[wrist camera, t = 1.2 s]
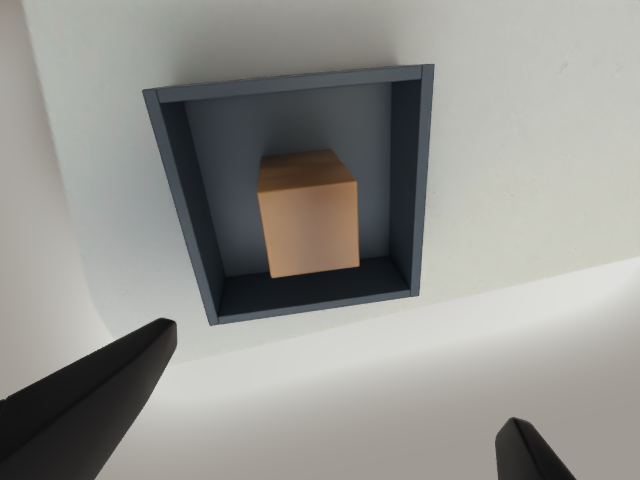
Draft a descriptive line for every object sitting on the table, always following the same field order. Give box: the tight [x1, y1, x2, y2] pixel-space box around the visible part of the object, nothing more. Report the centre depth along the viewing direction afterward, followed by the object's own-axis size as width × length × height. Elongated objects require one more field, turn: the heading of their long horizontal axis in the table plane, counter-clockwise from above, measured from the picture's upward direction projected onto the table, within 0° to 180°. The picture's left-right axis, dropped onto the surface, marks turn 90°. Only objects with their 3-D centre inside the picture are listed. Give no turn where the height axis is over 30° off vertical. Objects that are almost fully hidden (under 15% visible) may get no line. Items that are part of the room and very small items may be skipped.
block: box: [257, 149, 360, 278], centre depth 19 cm, size 4×4×7 cm
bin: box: [142, 64, 434, 326], centre depth 20 cm, size 13×13×5 cm
